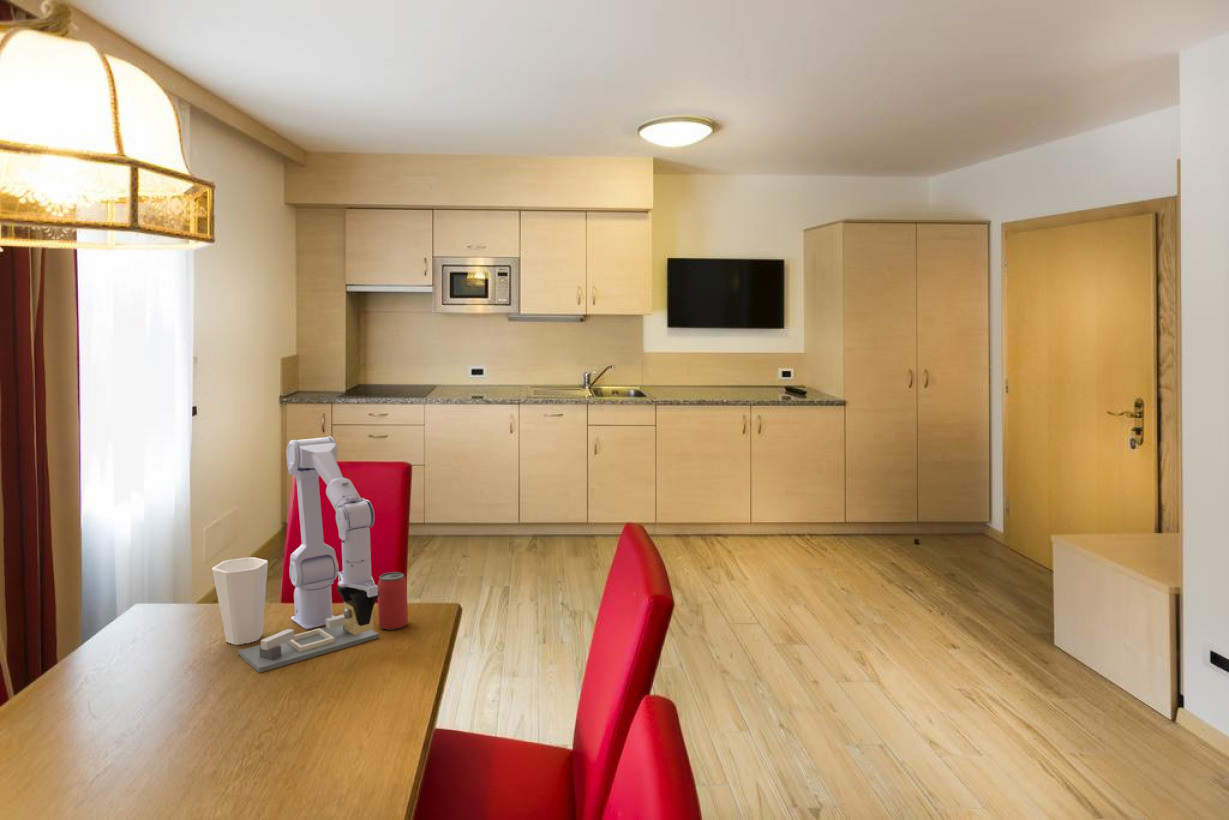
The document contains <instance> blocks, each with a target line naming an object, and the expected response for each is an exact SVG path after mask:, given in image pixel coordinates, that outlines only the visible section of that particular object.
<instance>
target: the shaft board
mask: <svg viewBox="0 0 1229 820" xmlns="http://www.w3.org/2000/svg"><path fill="white" fill-rule="evenodd" d="M334 616H335V615H334ZM376 638H377V639H379V638H380V634H379V633H378V632H377V631H376V630H374V629H373V630H369V631H366V632H362V633H359V634H355V635H353V634H352V633H350V632H349V631H347V630H346V629H345V624H344V613H342V614H339V615H336V616H335V617H331V618H327V619H326V625H325V627H321V628H320V627H318V628H314V629H313V630H311V629H310V630H309V631H305V632H301V633H296V634H295V630H294V629H291V628H287V629H284V630H282V631H280V632H278V633H275V634H272V635H270V636H267V637H265V638H263V639H260V644H257V645H254V646H251V647H246V648H242V649H239V650H238V656H239V655H240V656H241V657H242V658H241V657H240V658H241V659H243V660H244V661H245V662H246V663H247V664H248V665H250V666H251V668H253V669H254V671H255V670H256V671H257V673H264V672H267V671H270V670H273V669H277V668H280V667H284V666H287V665H290V664H294V663H295V664H296V663H299V662H301V661H304V660H307V659H312V658H314V657H318V656H321V655H326V654H328V653H332V652H334V651H335V652H336V651H339V650H342V649H345V648H350V647H353V646H357V645H360V644H363V643H367V642H369V640H370V641H373V640H372V639H374V640H377V639H376ZM366 641H367V642H366Z"/></svg>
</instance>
